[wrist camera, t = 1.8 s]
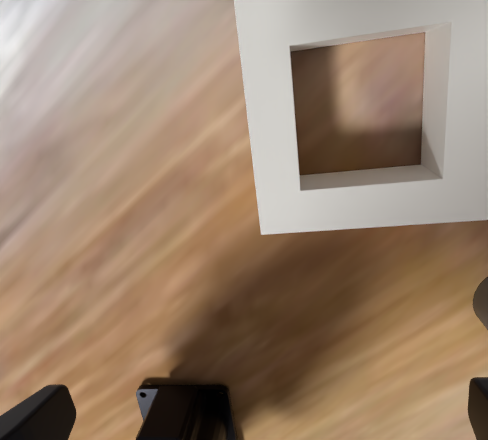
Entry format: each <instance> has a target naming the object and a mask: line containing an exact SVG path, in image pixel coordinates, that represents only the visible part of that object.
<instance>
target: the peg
mask: <svg viewBox="0 0 488 440" xmlns="http://www.w3.org/2000/svg"><path fill="white" fill-rule="evenodd" d="M473 308H474V311H475V314H476V315H477V317H478V318H479V319H480V321H481V322H482V323H483V325H484V326H485V327H486V328H487V330H488V277H487V278H486V279H485V280H484V281H483V282H482V283H481V284H480V285H479V286H478V288H477V290H476V292H475V294H474V298H473Z"/></svg>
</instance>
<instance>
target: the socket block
mask: <svg viewBox="0 0 488 440" xmlns="http://www.w3.org/2000/svg"><path fill="white" fill-rule="evenodd" d="M234 6H235V14H236V23H237V32H238V40H239V49H240V57H241V66H242V75H243V83H244V92H245V100H246V109H247V117H248V126H249V135H250V143H251V152H252V160H253V169H254V178H255V186H256V195H257V203H258V212H259V220H260V229H261V235H265V234H280V233H296V232H311V231H326V230H341V229H357V228H372V227H387V226H402V225H417V224H433V223H448V222H463V221H478V220H488V0H234ZM422 32H425V58H424V87H423V117H422V146H421V165H410V166H399V167H388V168H377V169H366V170H355V171H344V172H333V173H322V174H311V175H300V173H299V159H298V146H297V133H296V119H295V106H294V93H293V80H292V66H291V53H290V52H291V51H298V50H305V49H312V48H319V47H326V46H333V45H340V44H347V43H353V42H360V41H367V40H374V39H381V38H388V37H395V36H402V35H409V34H415V33H422Z"/></svg>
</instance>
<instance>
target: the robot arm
mask: <svg viewBox="0 0 488 440" xmlns="http://www.w3.org/2000/svg"><path fill="white" fill-rule="evenodd" d="M143 392H144V393H143ZM219 392H221V393H223V394H221V393H219ZM136 396H137V400H138V403H139V407H140V410H141V414H142V417H143V423H142V426H141V428H140V430H139V432H138V435H137V437H136V440H238V439H237V434H236V428H235V422H234V416H233V411H232V405H231V399H230V393H229V389H228V388H227V387H226V386H224V385H141V386H139V388H138V390H137V392H136ZM468 415H469V419H470V422H471V425H472V428H473V431H474V433H475V436H476V439H477V440H488V377H477V378H472V379H471V381H470V385H469V399H468ZM75 419H76V409H75V406H74V403H73V401H72V398H71V395H70V393H69V390H68V388H67V387H66V386H65V385H62V384H61V385H48V386H46V387H44V388H42V389H41V390H39V391H38V392H36V393H35V394H33V395H32V396H30V397H29V398H27V399H26V400H24V401H22V402H21V403H19V404H18V405H16V406H15V407H13V408H12V409H10V410H9V411H7V412H6V413H4V414H3V415H1V416H0V440H68V438H69V435H70V433H71V430H72V428H73V425H74V423H75Z"/></svg>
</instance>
